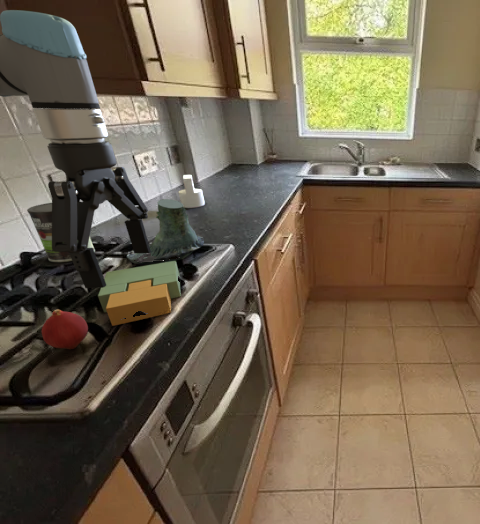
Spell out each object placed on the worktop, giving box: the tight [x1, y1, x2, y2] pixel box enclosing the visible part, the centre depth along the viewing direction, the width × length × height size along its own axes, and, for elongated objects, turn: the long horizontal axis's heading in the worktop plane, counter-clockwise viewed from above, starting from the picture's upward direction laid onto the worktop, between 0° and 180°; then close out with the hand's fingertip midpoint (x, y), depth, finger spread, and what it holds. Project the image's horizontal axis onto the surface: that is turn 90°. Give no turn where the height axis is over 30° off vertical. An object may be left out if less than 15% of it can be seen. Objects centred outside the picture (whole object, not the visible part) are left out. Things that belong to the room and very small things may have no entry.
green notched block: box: [97, 260, 182, 313], centre depth 75 cm, size 14×12×4 cm
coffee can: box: [26, 202, 96, 263], centre depth 90 cm, size 10×10×14 cm
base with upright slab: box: [177, 174, 206, 209], centre depth 139 cm, size 9×9×12 cm
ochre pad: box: [106, 280, 172, 327], centre depth 69 cm, size 10×10×4 cm
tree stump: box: [126, 198, 205, 266], centre depth 94 cm, size 18×20×18 cm
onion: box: [41, 309, 89, 350], centre depth 56 cm, size 6×6×8 cm
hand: (121, 268), depth 58 cm, fingers open, 13 cm apart
